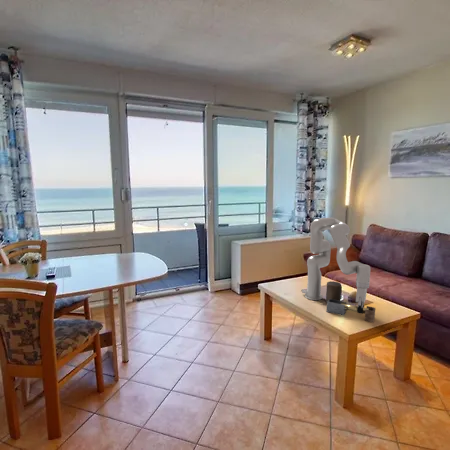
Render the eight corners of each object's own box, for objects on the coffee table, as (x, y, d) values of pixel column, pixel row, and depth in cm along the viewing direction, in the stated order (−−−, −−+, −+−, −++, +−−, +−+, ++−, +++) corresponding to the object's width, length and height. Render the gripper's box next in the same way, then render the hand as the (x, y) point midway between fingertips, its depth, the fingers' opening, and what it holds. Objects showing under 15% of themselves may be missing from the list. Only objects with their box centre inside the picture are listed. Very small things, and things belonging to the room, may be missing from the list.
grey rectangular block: (326, 311, 198) (327, 301, 197) (328, 308, 203) (329, 298, 202) (344, 315, 193) (344, 305, 191) (345, 312, 198) (346, 302, 197)
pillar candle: (341, 305, 209) (342, 284, 206) (326, 303, 211) (327, 283, 208) (338, 299, 218) (340, 280, 216) (324, 298, 220) (326, 278, 218)
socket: (364, 320, 186) (365, 309, 185) (365, 316, 192) (366, 306, 191) (373, 322, 184) (374, 311, 182) (374, 318, 189) (375, 307, 188)
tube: (340, 309, 194) (341, 304, 194) (341, 307, 198) (342, 302, 197) (367, 315, 186) (368, 309, 186) (368, 313, 189) (368, 307, 189)
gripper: (358, 279, 196) (356, 306, 199) (353, 287, 182) (351, 315, 185) (370, 281, 192) (368, 308, 195) (367, 289, 178) (365, 318, 181)
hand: (360, 311), depth 190 cm, fingers closed on tube, 3 cm apart
